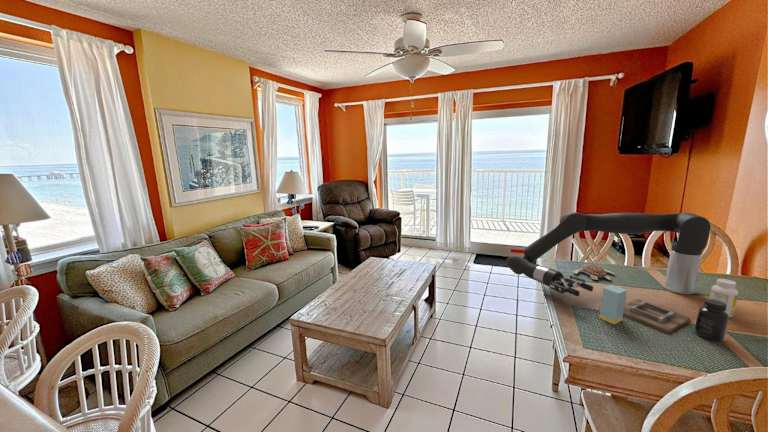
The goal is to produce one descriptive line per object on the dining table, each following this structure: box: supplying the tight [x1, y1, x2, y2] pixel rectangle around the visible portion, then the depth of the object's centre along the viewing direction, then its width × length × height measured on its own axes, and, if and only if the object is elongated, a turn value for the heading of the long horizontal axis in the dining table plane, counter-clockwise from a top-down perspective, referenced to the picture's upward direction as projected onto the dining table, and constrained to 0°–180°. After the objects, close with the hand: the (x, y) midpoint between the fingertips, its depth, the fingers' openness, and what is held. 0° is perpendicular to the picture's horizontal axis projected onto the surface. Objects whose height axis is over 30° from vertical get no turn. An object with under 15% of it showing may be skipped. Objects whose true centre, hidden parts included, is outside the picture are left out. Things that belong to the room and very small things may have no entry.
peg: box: [598, 284, 628, 325], centre depth 110 cm, size 5×5×12 cm
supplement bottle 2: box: [693, 298, 730, 342], centre depth 99 cm, size 7×7×12 cm
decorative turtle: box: [572, 263, 615, 281], centre depth 149 cm, size 18×17×5 cm
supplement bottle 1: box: [708, 278, 739, 318], centre depth 112 cm, size 7×7×13 cm
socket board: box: [623, 298, 692, 335], centre depth 112 cm, size 16×16×3 cm
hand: (585, 291), depth 119 cm, fingers open, 8 cm apart
